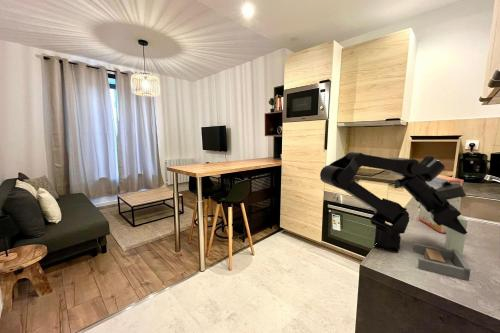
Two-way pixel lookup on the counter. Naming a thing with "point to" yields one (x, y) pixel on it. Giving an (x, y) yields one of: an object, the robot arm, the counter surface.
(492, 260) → the counter surface
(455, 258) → the frame
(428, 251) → the walnut offcuts
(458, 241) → the sage board
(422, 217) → the cracker box
